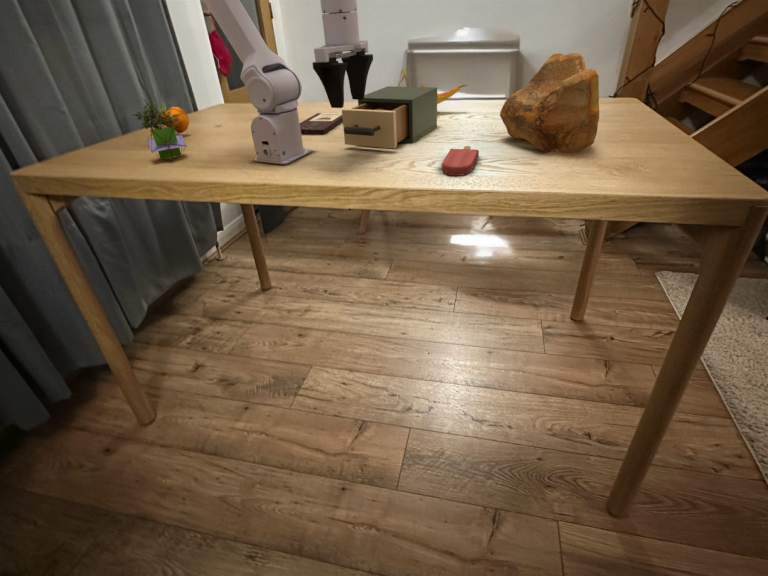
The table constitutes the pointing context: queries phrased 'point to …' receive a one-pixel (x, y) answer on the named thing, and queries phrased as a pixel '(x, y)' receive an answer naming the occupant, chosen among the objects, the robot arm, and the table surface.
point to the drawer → (376, 124)
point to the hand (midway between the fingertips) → (348, 103)
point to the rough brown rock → (556, 106)
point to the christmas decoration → (164, 117)
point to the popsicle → (460, 161)
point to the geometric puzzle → (166, 142)
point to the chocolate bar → (320, 123)
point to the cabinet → (411, 107)
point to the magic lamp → (440, 97)
